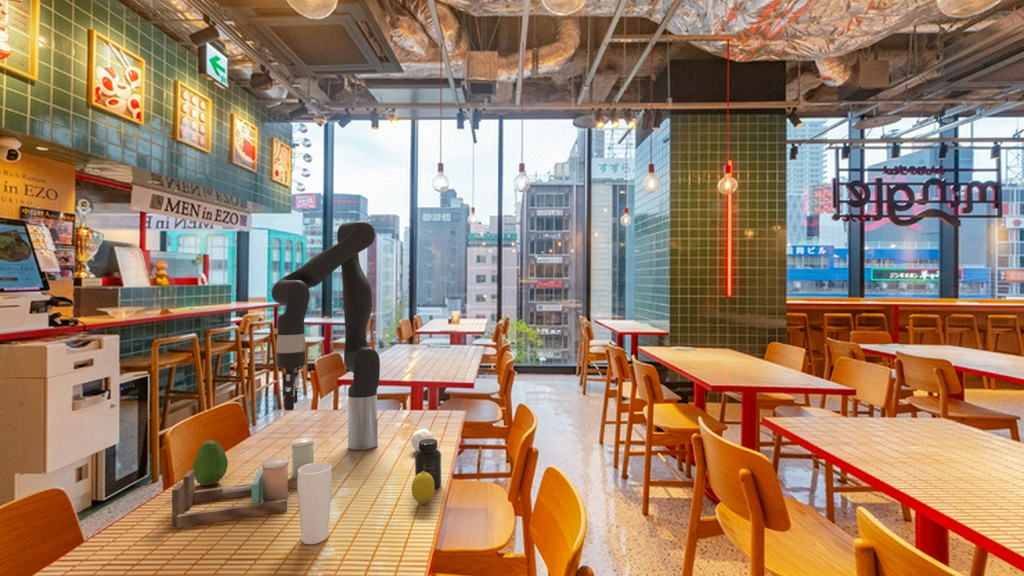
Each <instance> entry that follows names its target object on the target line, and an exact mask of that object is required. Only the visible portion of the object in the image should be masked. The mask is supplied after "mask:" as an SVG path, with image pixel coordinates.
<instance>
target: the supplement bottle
mask: <svg viewBox="0 0 1024 576" xmlns="http://www.w3.org/2000/svg"><path fill="white" fill-rule="evenodd" d="M414 463H415V465H414V467H415V468H414V472H415V473H414V477H415V476H416V475H417V474H419V473H421V472H422V471H424V472H426V473H428V474H430V475H431V476H432V478H433V480H434V485H435V490H434V491H436V490H438V489H439V488H440V487H441V485H442V452H440V450H438V440H437V439H435V438H433V439H423V440H421V441H419V451H417V452H416V454H415V455H414Z"/></svg>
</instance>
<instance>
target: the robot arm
mask: <svg viewBox="0 0 1024 576" xmlns="http://www.w3.org/2000/svg"><path fill="white" fill-rule="evenodd" d="M336 235H337V236H336V238H337V243H336V244H334V245H332V246H331V247H329V248H327V249H325V250H323V251H321V252H319V253H318V254H316V255H315V256H313V257H312V258H310V259H309V260H308V261H307V262H305V264H303V265H302V266H301V267H300V268H298V269H297V270H295V271H292V272H291V273H289V274H287V275H286V276H284V277H282V278H281V279H279V280H278V281H276V283H275V284H274V285H273V287H272V289H271V298H272V300H273V301H274V302H275V303H277V304H280V305H286V308H285V310H284V311H285V312H283V313H281V314H280V315H278V317H277V322H276V324H277V325H276V326H277V329H276V331H277V335H276V343H275V344H276V345H275V346H276V349H275V350H276V353H275V354H276V357H275V358H276V367H277V368H279V369H285V370H284V371H285V372H284V373H283V374H282V396H283V397H284V410H285V411H286V412H287V411H293V410H295V409H294V408H295V404H297V403H298V390H299V386H300V371H299V370H300V368H301V367H304V366H306V337H305V318H306V315H307V311H308V307H309V303H310V298H311V297H310V296H311V293H310V288H315V287H317V286H318V285H320V284H321V283H322V282H323V281H324V280H325V279H326V278H327V277H329V276H330V275H331V274H332V273H334V271H336V270H337V269H338V268H341V277H342V278H341V279H342V301H343V303H342V304H343V311H344V312H343V315H344V330H345V333H344V334H345V335H344V336H345V337H344V339H345V340H344V354H343V356H344V357H343V358H344V365H345V368H346V369H347V370H348V371H349V372H350V373H353V377H352V379H353V380H352V384H351V385H350V386H349V387H348V390H347V396H348V397H347V398H348V399H347V401H348V402H347V404H348V405H347V409H348V410H347V413H348V414H347V417H348V418H347V427H348V428H347V429H348V431H347V432H348V434H347V439H348V440H347V445H348V449H349V450H352V451H364V450H370V449H373V448H379V447H378V445H379V444H378V442H379V439H378V437H379V436H378V435H379V434H378V429H379V428H378V424H379V423H378V422H379V421H378V387H379V385H380V377H381V376H380V373H381V360H380V356H379V353H378V351H377V350H376V349H373V348H372V347H368V343H367V328H368V324H369V321H370V318H371V314H372V311H373V294H372V286H371V284H370V282H369V280H368V278H367V276H366V274H365V273H364V270H363V269H362V267H361V264H360V257H359V253H360V252H362V251H364V250H366V249H367V248H369V247H370V246H371V245H373V243H374V241H375V238H376V231H375V228H374V226H373V225H372V224H371V223H370V222H368V221H365V220H357V221H356V220H355V221H347V222H343V223H342V224H340V225H339V227H338V229H337V232H336ZM340 266H341V267H340Z"/></svg>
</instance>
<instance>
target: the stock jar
mask: <svg viewBox="0 0 1024 576" xmlns="http://www.w3.org/2000/svg"><path fill="white" fill-rule="evenodd" d="M261 464H262V467H261V468H263V498H262V503H263V502H270V501H277V500H284V499H287V501H288V500H289V490H288V479H289V458H287V457H284V456H283V457H282V456H277V457H271V458H268V459H266V460H264V461H262V463H261Z"/></svg>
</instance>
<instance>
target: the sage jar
mask: <svg viewBox="0 0 1024 576" xmlns="http://www.w3.org/2000/svg"><path fill="white" fill-rule="evenodd" d="M314 443H315V439H314V438H313V437H300V438H296V439H293V440H292V441H291V478H293V480H297V475H298V469H299V468H300V467H302V466H304V465H307V464H310V463H315V461H314V458H315V455H314V453H315V452H314V450H315V449H314V448H315V447H314V446H315V445H314Z"/></svg>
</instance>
